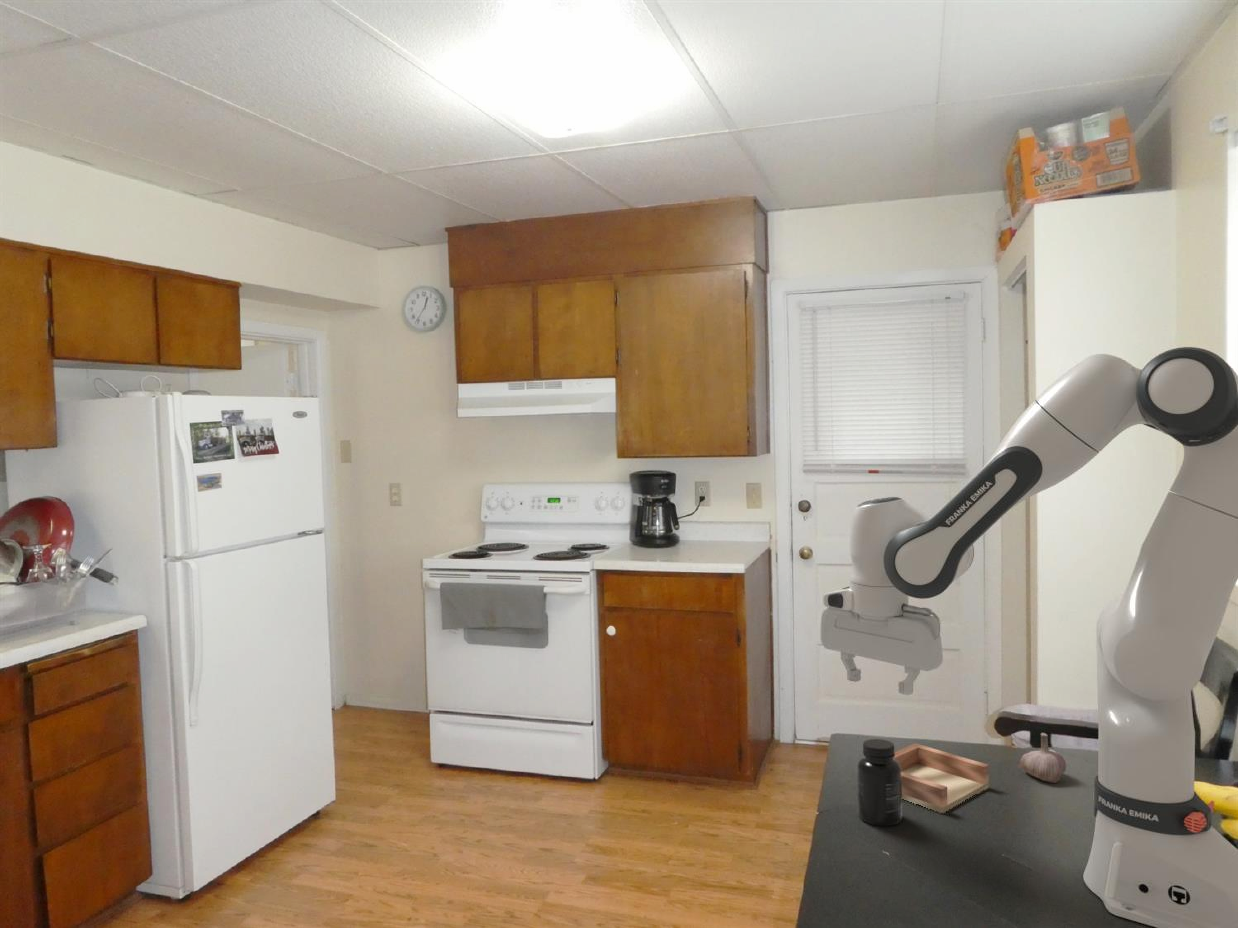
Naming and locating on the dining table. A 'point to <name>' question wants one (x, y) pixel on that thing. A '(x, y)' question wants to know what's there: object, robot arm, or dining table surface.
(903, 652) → the robot arm
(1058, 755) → the garlic bulb
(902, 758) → the open-sided tray
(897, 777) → the supplement bottle
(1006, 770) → the dining table surface
